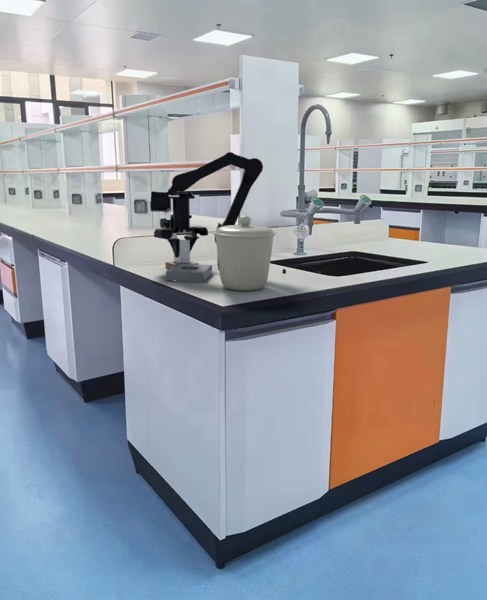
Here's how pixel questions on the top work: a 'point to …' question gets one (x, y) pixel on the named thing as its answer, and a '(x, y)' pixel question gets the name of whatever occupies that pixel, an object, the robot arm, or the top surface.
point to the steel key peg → (183, 252)
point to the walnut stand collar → (171, 264)
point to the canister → (244, 255)
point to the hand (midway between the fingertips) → (181, 257)
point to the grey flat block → (189, 272)
